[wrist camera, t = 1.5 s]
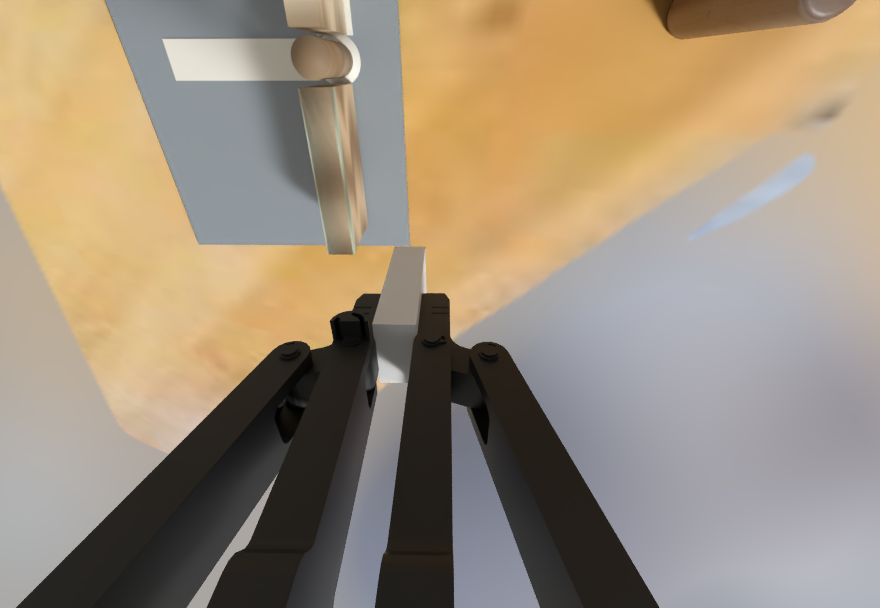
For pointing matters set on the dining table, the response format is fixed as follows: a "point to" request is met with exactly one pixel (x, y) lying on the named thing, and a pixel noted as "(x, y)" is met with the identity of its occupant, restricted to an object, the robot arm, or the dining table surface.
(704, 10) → the wooden toy
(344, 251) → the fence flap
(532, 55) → the dining table surface
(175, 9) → the card
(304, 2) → the beige wooden panel
